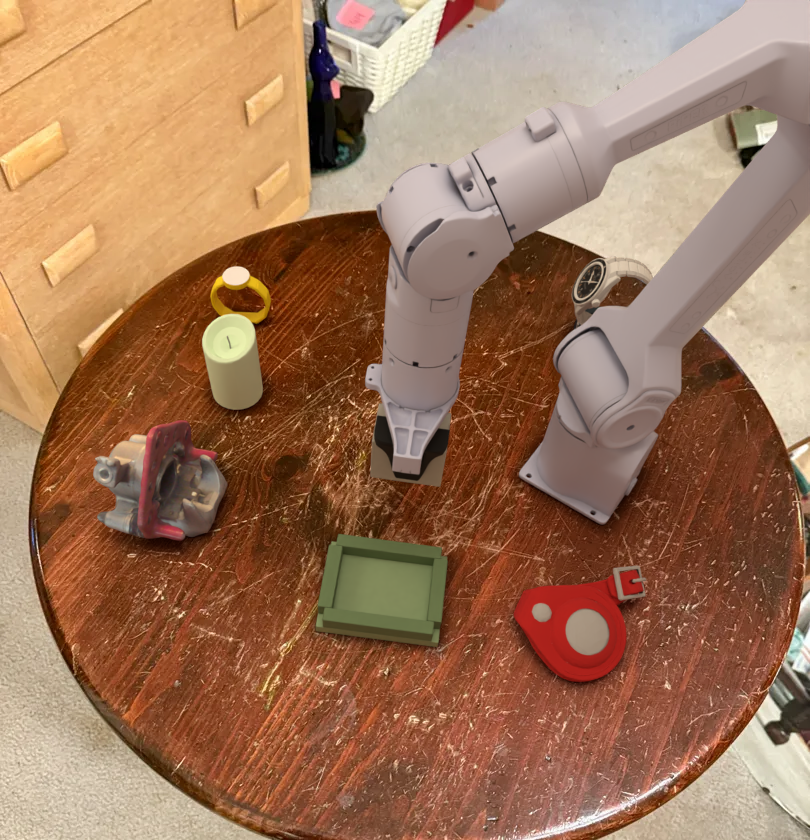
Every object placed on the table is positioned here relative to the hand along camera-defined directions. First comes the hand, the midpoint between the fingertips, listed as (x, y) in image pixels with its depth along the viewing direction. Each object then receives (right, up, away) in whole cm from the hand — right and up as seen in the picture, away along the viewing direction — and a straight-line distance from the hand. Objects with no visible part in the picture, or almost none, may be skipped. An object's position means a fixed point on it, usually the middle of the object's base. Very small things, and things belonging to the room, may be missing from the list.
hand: (410, 453), depth 69 cm
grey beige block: (0, -1, +1) cm, 1 cm away
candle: (-17, +8, +13) cm, 23 cm away
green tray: (-2, -12, +3) cm, 13 cm away
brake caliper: (-22, -4, +6) cm, 23 cm away
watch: (+20, +14, +19) cm, 31 cm away
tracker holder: (+15, -15, +2) cm, 21 cm away
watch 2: (-18, +16, +18) cm, 30 cm away
